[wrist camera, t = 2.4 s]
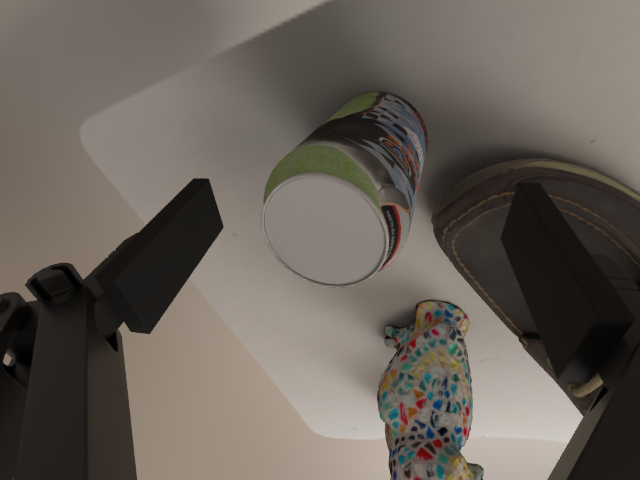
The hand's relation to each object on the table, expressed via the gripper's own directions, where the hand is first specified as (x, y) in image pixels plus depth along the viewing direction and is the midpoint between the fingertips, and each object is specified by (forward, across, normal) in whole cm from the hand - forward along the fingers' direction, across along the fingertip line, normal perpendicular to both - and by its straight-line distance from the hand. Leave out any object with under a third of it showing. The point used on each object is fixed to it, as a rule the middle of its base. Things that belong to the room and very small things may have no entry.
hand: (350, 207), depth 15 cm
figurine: (+9, +6, -20) cm, 23 cm away
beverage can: (+9, 0, 0) cm, 9 cm away
